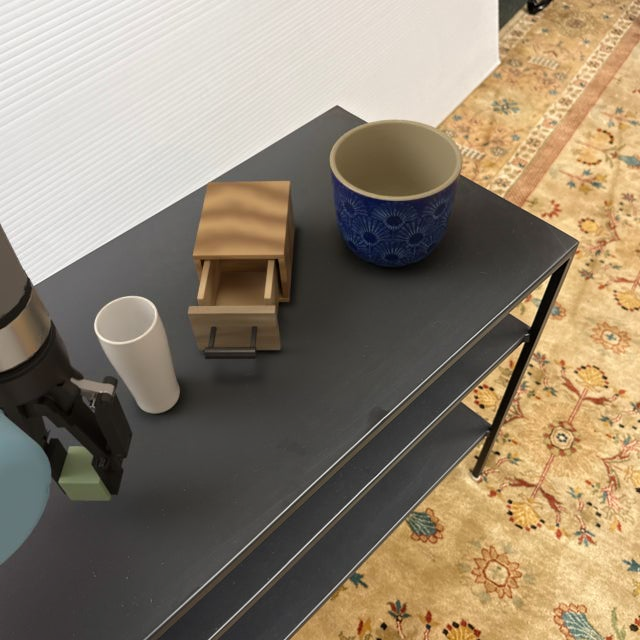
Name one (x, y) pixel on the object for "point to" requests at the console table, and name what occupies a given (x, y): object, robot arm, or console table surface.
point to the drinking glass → (139, 351)
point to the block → (82, 477)
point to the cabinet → (248, 226)
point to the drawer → (237, 308)
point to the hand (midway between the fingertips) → (94, 482)
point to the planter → (394, 189)
